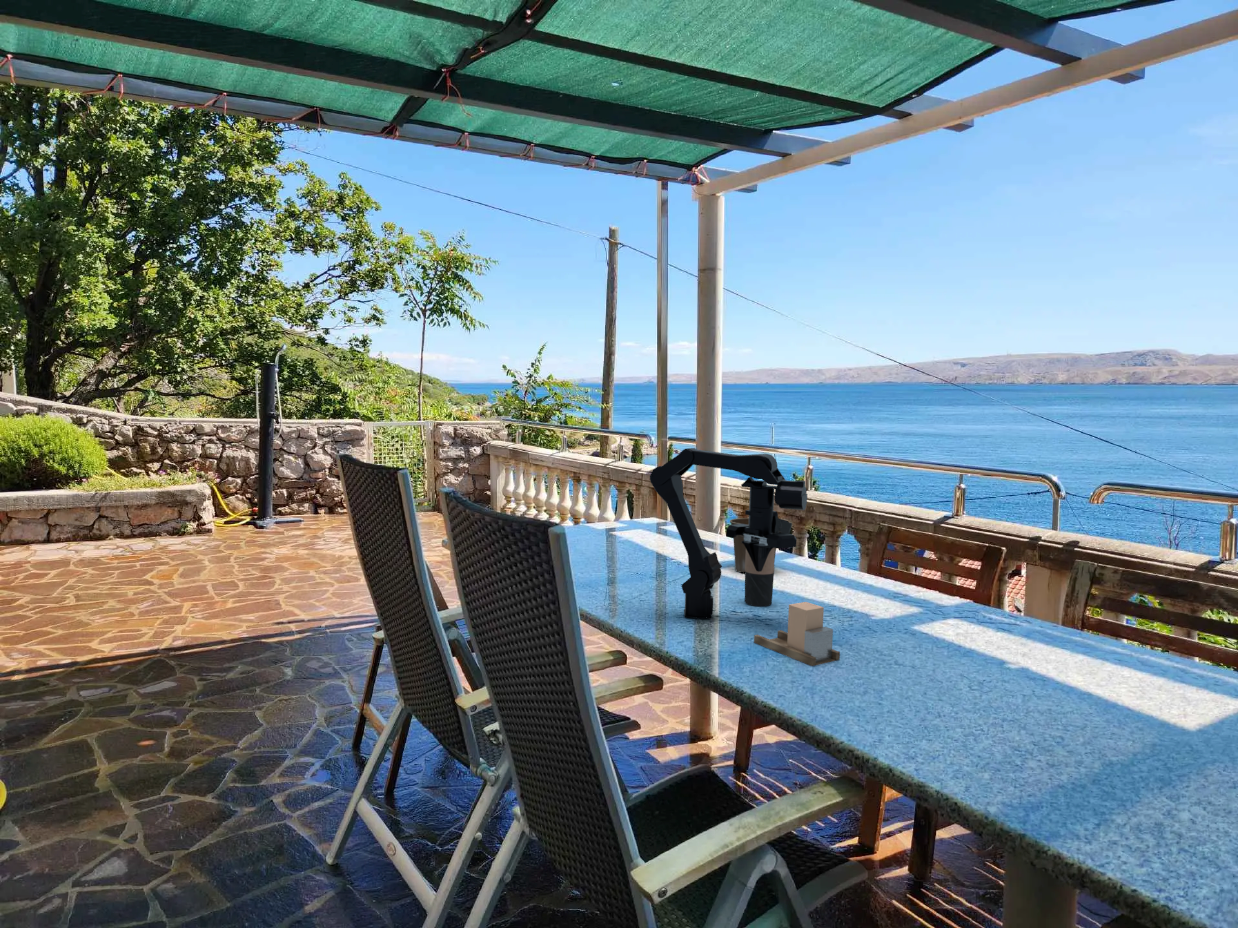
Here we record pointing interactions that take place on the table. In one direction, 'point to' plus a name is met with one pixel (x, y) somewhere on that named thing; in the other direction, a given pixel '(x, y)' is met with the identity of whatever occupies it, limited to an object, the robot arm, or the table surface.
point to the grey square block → (819, 643)
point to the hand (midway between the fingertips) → (759, 571)
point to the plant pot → (740, 546)
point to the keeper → (802, 623)
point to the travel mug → (759, 581)
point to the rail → (791, 649)
